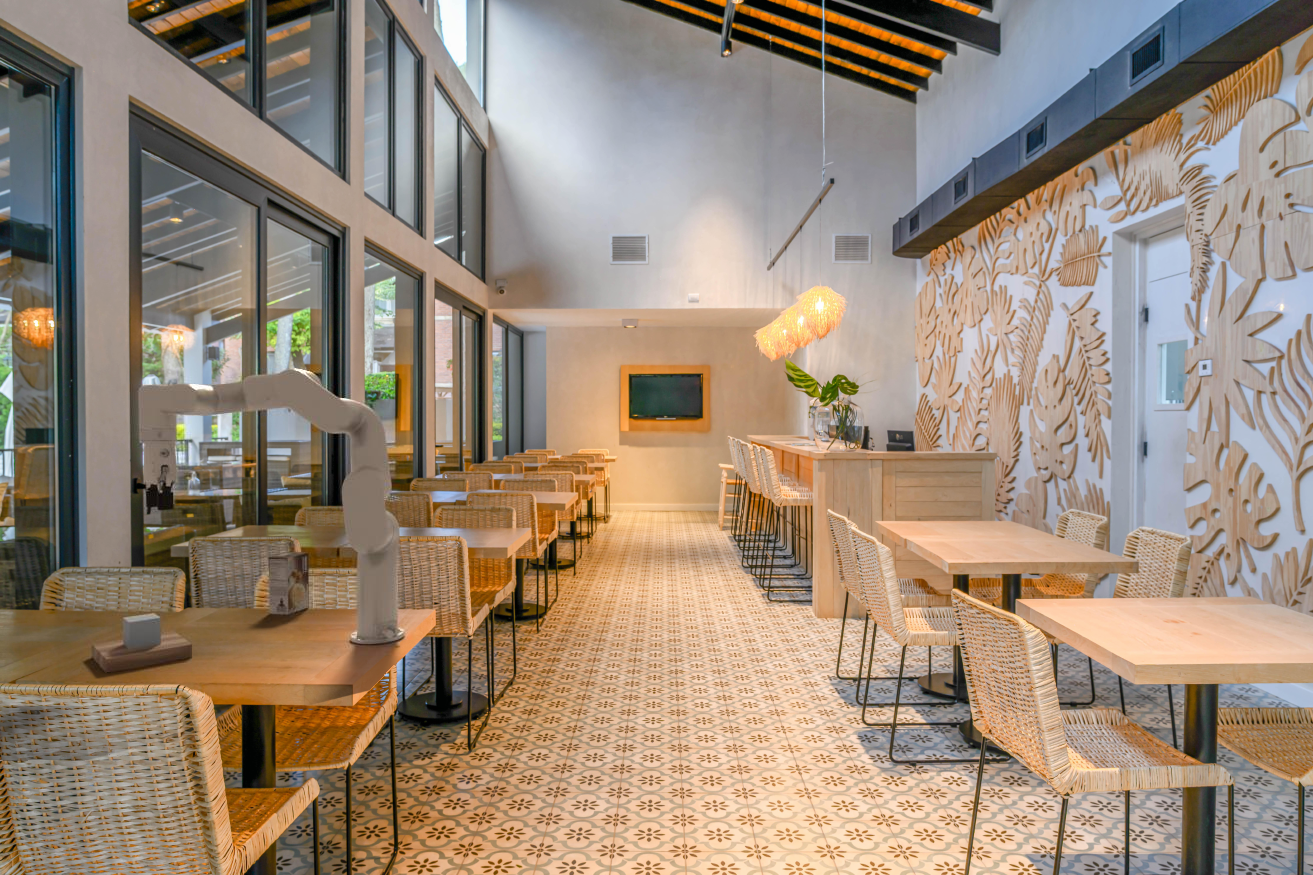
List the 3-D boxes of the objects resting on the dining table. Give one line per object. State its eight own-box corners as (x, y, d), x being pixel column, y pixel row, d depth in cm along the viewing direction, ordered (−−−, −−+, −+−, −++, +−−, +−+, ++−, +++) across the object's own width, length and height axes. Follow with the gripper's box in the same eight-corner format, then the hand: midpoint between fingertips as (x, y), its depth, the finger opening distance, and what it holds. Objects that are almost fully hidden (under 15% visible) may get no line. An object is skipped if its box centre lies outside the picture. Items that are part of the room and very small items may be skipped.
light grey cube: (160, 643, 175) (160, 617, 174) (129, 649, 170) (129, 622, 170) (154, 638, 179) (154, 613, 179) (123, 644, 175) (123, 617, 174)
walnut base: (192, 657, 175) (191, 644, 174) (106, 673, 163) (106, 659, 163) (173, 643, 186) (173, 630, 186) (92, 657, 175) (92, 644, 175)
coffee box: (290, 606, 224) (289, 551, 224) (309, 607, 223) (309, 552, 223) (268, 614, 215) (267, 556, 215) (288, 615, 214) (288, 557, 214)
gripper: (187, 436, 181) (188, 509, 181) (166, 436, 193) (167, 504, 193) (149, 437, 176) (151, 512, 176) (130, 437, 187) (132, 507, 188)
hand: (159, 508), depth 184 cm, fingers open, 9 cm apart
